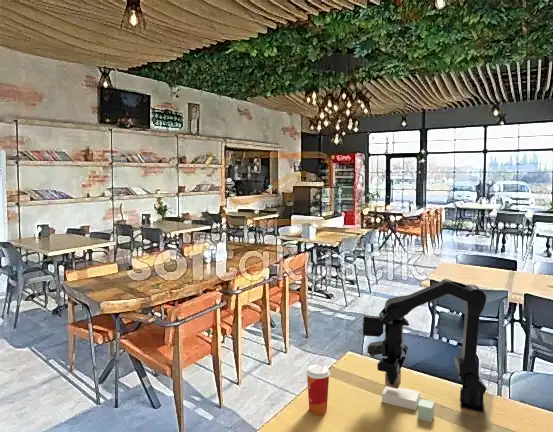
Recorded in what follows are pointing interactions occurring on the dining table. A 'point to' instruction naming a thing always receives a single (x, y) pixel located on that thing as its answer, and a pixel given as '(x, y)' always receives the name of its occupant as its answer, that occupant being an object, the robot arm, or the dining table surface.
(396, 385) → the walnut cube
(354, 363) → the dining table surface
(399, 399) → the base slab
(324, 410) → the paper cup
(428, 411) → the sage cube
